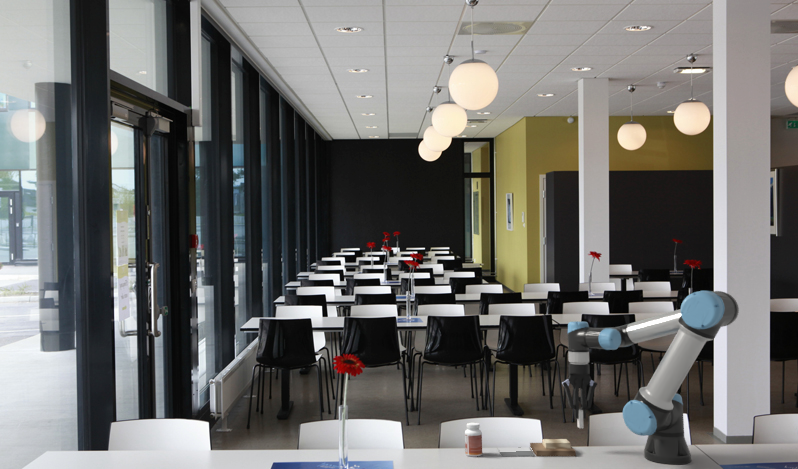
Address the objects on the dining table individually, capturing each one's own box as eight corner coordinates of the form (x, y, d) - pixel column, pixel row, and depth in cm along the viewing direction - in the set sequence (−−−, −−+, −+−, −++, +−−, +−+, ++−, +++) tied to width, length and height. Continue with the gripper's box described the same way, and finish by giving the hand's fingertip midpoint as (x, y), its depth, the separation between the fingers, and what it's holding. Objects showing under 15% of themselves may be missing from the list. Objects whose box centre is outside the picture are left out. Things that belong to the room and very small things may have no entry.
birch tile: (566, 444, 227) (566, 439, 227) (570, 448, 221) (570, 442, 221) (542, 444, 227) (542, 439, 227) (545, 448, 221) (545, 442, 222)
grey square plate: (528, 448, 230) (528, 447, 230) (535, 456, 218) (535, 455, 218) (497, 448, 230) (497, 447, 230) (501, 456, 218) (501, 455, 218)
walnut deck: (567, 448, 230) (567, 442, 230) (575, 456, 218) (575, 450, 218) (530, 448, 230) (530, 442, 230) (536, 456, 218) (536, 450, 218)
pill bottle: (485, 454, 221) (485, 423, 222) (475, 458, 217) (474, 426, 218) (472, 451, 225) (472, 421, 227) (461, 455, 221) (461, 423, 222)
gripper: (593, 361, 231) (595, 425, 229) (558, 361, 231) (560, 425, 229) (599, 364, 223) (601, 430, 221) (563, 364, 224) (565, 429, 221)
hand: (580, 427), depth 225 cm, fingers closed
